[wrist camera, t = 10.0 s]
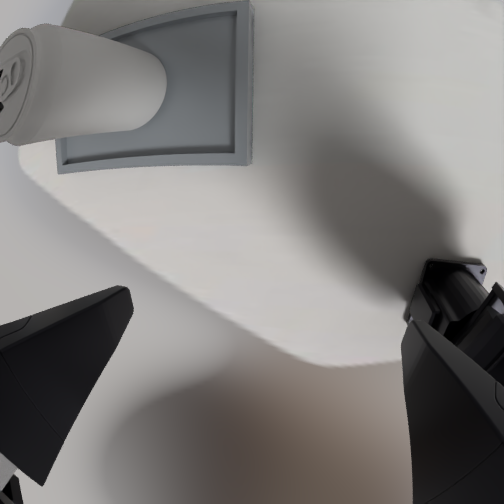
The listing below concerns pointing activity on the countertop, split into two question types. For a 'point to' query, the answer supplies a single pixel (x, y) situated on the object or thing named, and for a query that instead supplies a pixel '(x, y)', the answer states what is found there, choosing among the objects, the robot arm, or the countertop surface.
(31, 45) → the beverage can
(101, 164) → the tray
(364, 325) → the countertop surface
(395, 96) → the countertop surface
